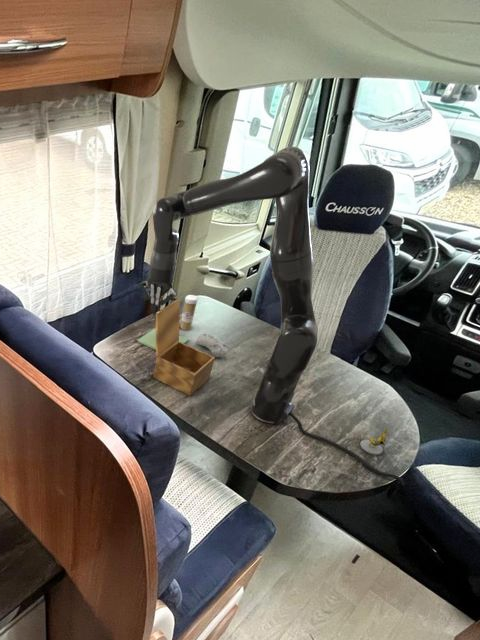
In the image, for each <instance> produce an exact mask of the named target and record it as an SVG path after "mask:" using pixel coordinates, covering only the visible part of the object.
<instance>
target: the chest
mask: <svg viewBox="0 0 480 640" xmlns="http://www.w3.org/2000/svg"><path fill="white" fill-rule="evenodd" d="M215 359H216V357H214V356H212V354H209V353H206V352H204V351H202V350H199V349H197V348H195V347H192V346H190V345H188V344H186V343H185V344H183V343H181V342H179V341H177V342H176V343H175V344H173V345H172V346H171V347H169V348H168V349H167V350H166V351H164V352H163V353H161V354H160V355H159V356H156V360H155V366H154V372H153V377H152V378H154V379H155V380H158V381H159V382H162V383H163V384H165V385H168V386H170V387H171V388H173V389H175V390H178V391H180V393H184V394H185V395H188V396H191V395H193V394H194V393H195V392H196V391H197V390H199V388H201V386H202V385H203V384H204V383H205V382H207V380H209V379H210V377H211V375H212V370H213V366H214V364H215Z"/></svg>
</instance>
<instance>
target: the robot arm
mask: <svg viewBox="0 0 480 640" xmlns="http://www.w3.org/2000/svg"><path fill="white" fill-rule="evenodd" d="M309 186H310V162H309V159H308V157H307V154H306V153H305V152H304V150H302V149H301V148H299V147H297V146H287V147H283V148H282V149H280V150H278V151H276V152H274V153H273V154H272V155H270V156H269V157H267V158H265V160H264V161H262V162H261V163H259V164H257V165H256V166H253V167H252V168H250V169H248V170H247V171H244V172H242V173H240V174H237V175H235V176H231V177H228V178H221V179H220V178H219V179H215V180H212V181H211V180H210V181H208V182H205V183H202V184H199V185H196V186H193V187H191V188H189V189H188V190H185V191H181V192H177V193H174V194H171V195H167V196H164V197H161V198H159V199H158V200H157V201H156V202H155V204H154V206H153V209H152V225H153V231H154V238H153V244H152V245H153V246H152V251H151V256H150V259H149V260H150V261H149V269H148V277H147V279H146V280H144V281H143V282H140V288H141V289H142V292H143V295H144V296H145V299H146V300H147V301H150V310H149V311H150V314H152V315H154V316H156V313H157V312H159V311H160V310H161V307H162V306H164V305H166V304H167V303H169V301H171V300H172V299H174V298H175V297H176V296H178V292H177V291H174V290H173V284H172V281H173V278H174V272H175V266H176V262H177V250H178V244H179V240H180V239H179V238H180V236H179V235H180V234H179V232H178V230H177V229H175V228H173V225H174V222H176V221H178V220H181V219H185V218H187V217H190V216H196V215H201V214H205V213H209V212H211V211H215V210H217V209H218V210H219V209H221V208H224V207H229V206H231V205H235V204H240V203H247V202H252V201H253V202H254V201H264V200H272V199H274V201H275V220H274V221H275V222H274V226H273V230H272V234H271V235H272V236H271V241H270V247H269V248H270V249H269V258H270V266H271V267H270V268H271V273H272V278H273V282H274V285H275V288H276V291H277V292H278V296H279V299H280V309H281V310H280V311H281V314H280V316H281V319H280V327H279V333H278V337H277V340H276V344H275V346H274V349H273V351H272V354H271V356H270V357H269V360H268V362H267V365H266V368H265V370H264V373H263V375H262V378H261V381H260V384H259V386H258V389H257V392H256V394H255V397H254V398H253V399H252V404H251V407H250V413H251V415H252V417H254V418H255V420H257V421H259V422H261V423H264V424H269V425H274V426H279V424H280V423H281V422H282V421H287V419H288V418H289V417H290V418H291V419H293V420H294V421H295V423H296V424H297V428H298V430H299V432H301V433H302V434H304V436H307V437H309V438H312V439H316V440H319V441H322V442H325V443H327V444H329V445H331V446H333V447H336V448H337V449H340V450H342V451H343V452H345V453H347V454H348V455H350V456H352V457H353V458H355V459H356V460H357V461H359V463H361V464H363V466H365V467H366V468H367V469H369V470H371V472H374V473H376V474H378V475H380V476H383V477H387V478H391V479H395V480H396V481H398V483H399V484H400V485H401V486H406V482H405V481H404V479H402V477H400V476H399V475H396V474H393V473H391V472H390V473H389V472H385V471H382V470H379V469H377V468H376V467H375V466H373V465H371V464H370V463H369V462H367V461H366V460H365V459H363V457H361V456H360V455H358V454H357V453H355V452H354V451H352V450H350V449H349V448H346V447H345V446H343V445H341V444H339V443H336V442H335V441H332V440H331V439H329V438H326V437H323V436H320V435H316V434H313V433H310V432H308V431H306V430H305V429H304V428H303V425H302V422H301V420H300V419H299V418H298V417H297V416H296V415H295V414H293V410H294V409H295V405H293V404H292V400H293V398H294V396H295V390H296V388H297V385H298V384H299V381H300V379H301V376H302V375H303V373H304V371H305V370H306V369H307V367H308V364H309V362H310V360H311V358H312V357H313V354H314V352H315V350H316V347H317V343H318V330H319V329H318V324H317V319H316V316H315V311H314V307H313V306H314V305H313V300H312V299H313V298H312V289H313V281H314V279H313V275H314V261H313V249H312V248H313V247H312V240H311V227H310V225H311V224H310V216H309ZM166 294H167V296H166V297H165V295H166ZM164 297H165V298H164ZM359 558H361V555H359V554H356V555H355V556H354V557H353V558H352V560H351V564H356V563H357V562H358V560H359Z"/></svg>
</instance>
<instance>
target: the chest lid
mask: <svg viewBox="0 0 480 640" xmlns="http://www.w3.org/2000/svg"><path fill="white" fill-rule="evenodd" d="M180 309H181V299H180V298H177V299H175V300H173V301H172V302H171V303H169V304H167V305H166V306H164V307H163V308H162V309H160V311H159V312H157V313H156V315H155V328H156V350H155V356H156V357H158V356H159V355H160V354H162V353H163V352H164V351H165V350H167V349H168V348H169V347H171V346H172V345H173V344H175V343H176V342H177V341H179V335H180V317H181V316H180V313H181V311H180Z"/></svg>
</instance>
